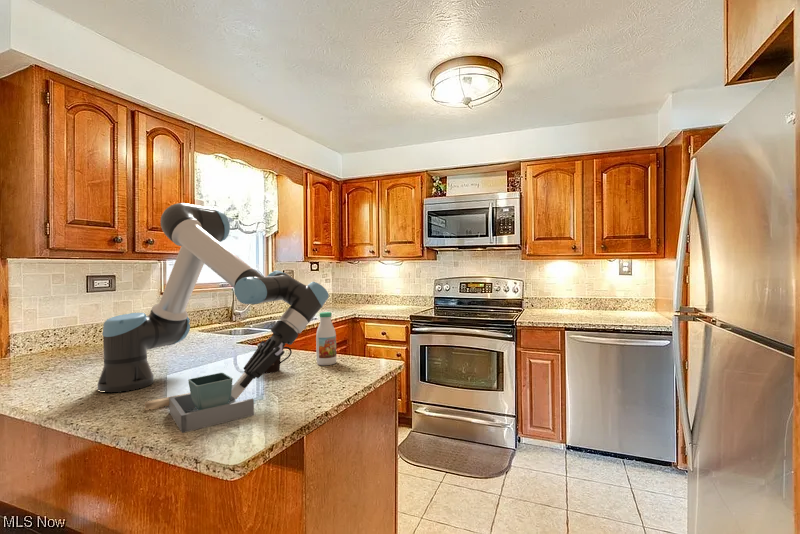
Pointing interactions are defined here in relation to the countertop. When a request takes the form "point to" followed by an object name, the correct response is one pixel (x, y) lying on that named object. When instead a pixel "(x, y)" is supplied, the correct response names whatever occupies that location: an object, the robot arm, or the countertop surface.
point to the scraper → (158, 403)
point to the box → (206, 412)
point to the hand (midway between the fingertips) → (231, 396)
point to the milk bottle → (326, 340)
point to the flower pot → (210, 390)
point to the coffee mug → (276, 363)
